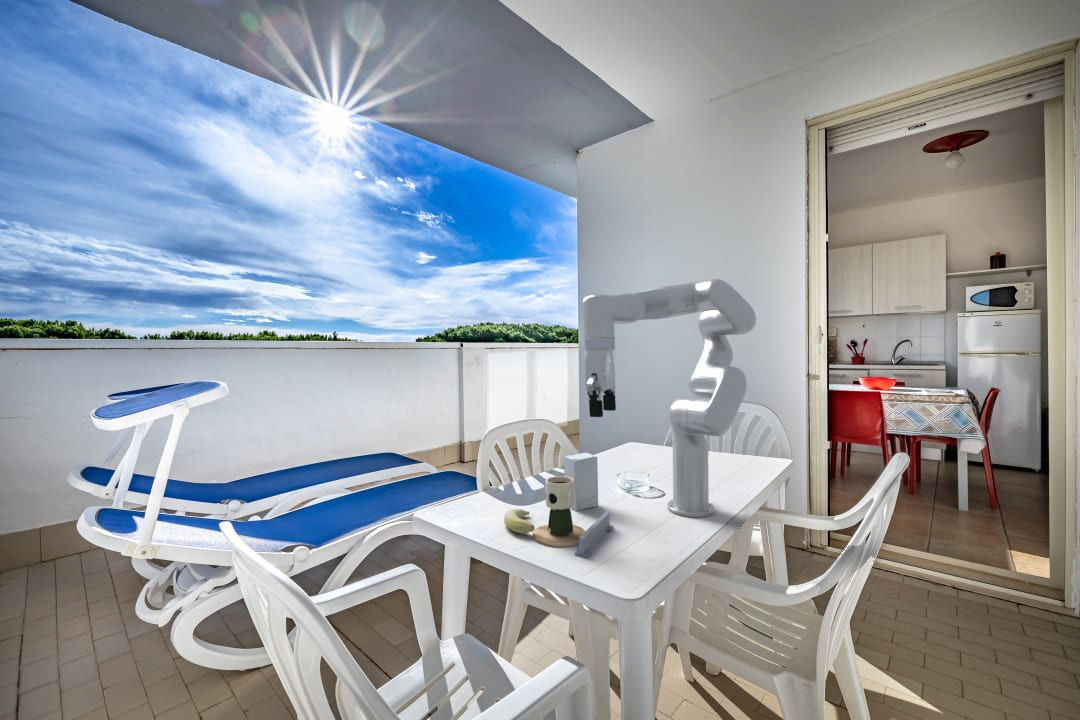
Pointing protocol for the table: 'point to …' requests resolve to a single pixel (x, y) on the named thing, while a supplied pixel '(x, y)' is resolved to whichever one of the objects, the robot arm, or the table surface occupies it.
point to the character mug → (560, 504)
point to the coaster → (557, 537)
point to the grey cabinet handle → (593, 535)
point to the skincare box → (583, 479)
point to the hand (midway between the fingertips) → (603, 413)
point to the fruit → (518, 521)
